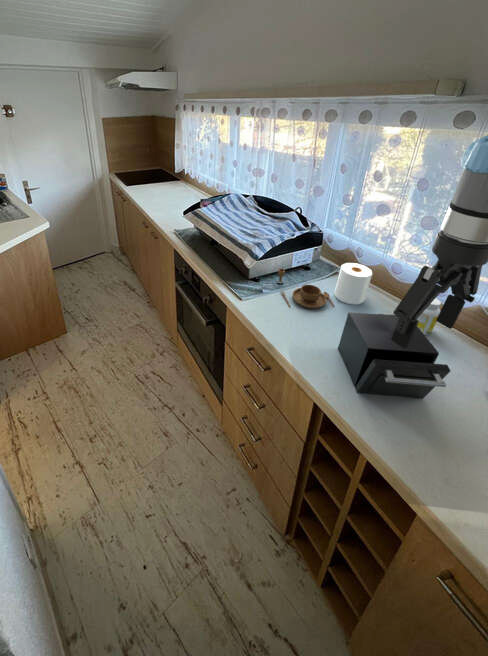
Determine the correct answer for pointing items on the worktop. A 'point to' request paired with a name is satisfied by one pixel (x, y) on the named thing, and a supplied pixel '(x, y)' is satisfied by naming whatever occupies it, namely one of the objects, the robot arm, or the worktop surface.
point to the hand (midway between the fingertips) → (422, 333)
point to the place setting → (307, 295)
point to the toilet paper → (353, 283)
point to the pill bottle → (429, 317)
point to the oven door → (401, 378)
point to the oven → (379, 343)
